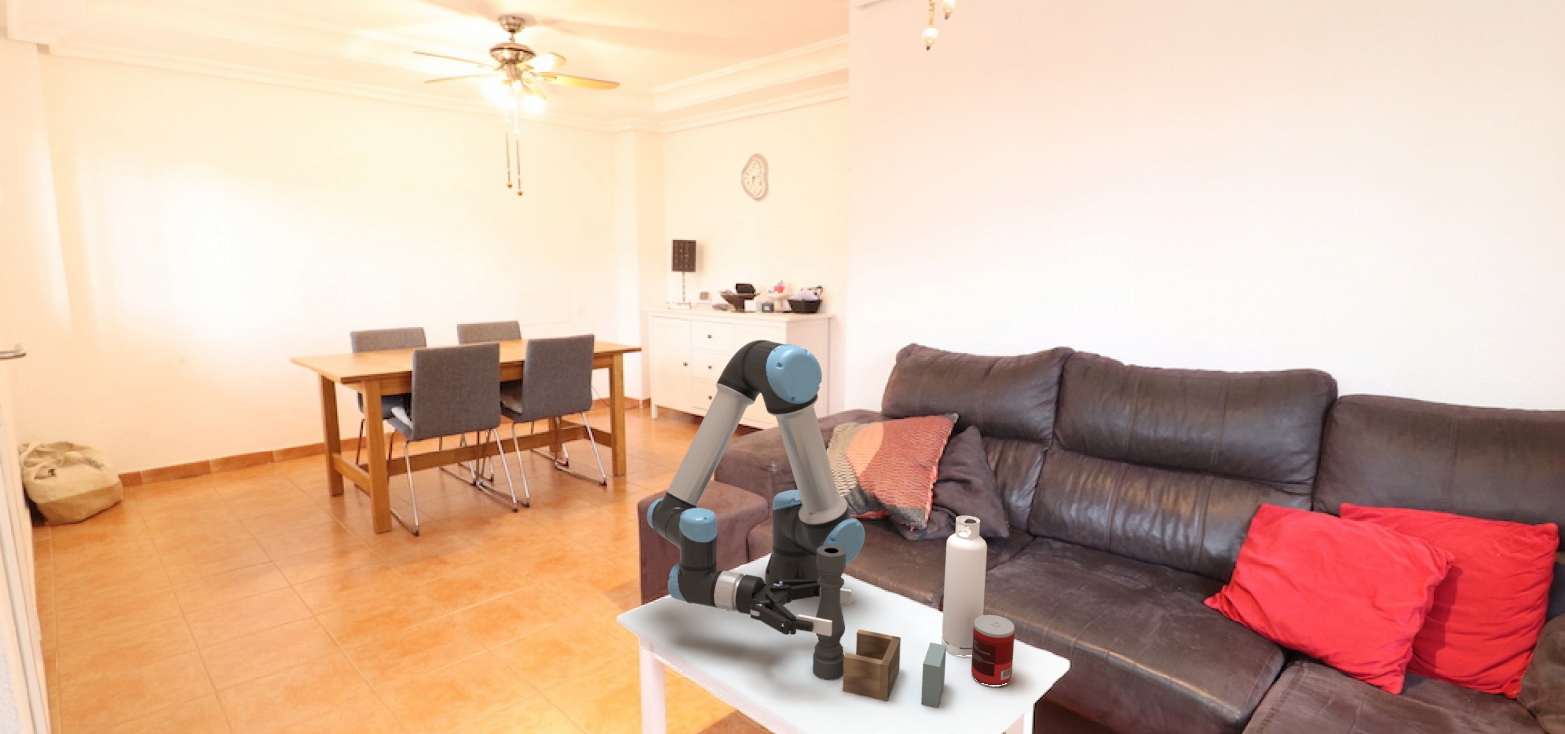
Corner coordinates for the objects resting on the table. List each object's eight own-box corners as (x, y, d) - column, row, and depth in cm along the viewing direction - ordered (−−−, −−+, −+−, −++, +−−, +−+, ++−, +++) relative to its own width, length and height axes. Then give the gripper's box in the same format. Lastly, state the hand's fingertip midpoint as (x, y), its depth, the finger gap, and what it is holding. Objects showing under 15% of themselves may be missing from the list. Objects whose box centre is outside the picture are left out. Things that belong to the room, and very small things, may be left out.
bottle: (935, 648, 154) (941, 520, 150) (951, 633, 160) (957, 510, 156) (971, 661, 149) (979, 529, 145) (986, 645, 156) (994, 518, 151)
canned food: (1010, 668, 147) (1014, 617, 145) (1012, 691, 139) (1015, 637, 137) (971, 662, 149) (974, 611, 147) (970, 684, 141) (973, 631, 140)
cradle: (842, 691, 138) (843, 656, 137) (857, 661, 149) (858, 629, 148) (887, 701, 135) (888, 665, 134) (899, 670, 146) (900, 637, 145)
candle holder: (842, 681, 141) (845, 558, 138) (810, 677, 143) (812, 555, 139) (845, 664, 147) (849, 545, 144) (815, 660, 149) (818, 543, 145)
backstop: (921, 704, 135) (923, 663, 134) (928, 680, 142) (930, 642, 141) (937, 707, 134) (939, 666, 132) (944, 684, 141) (946, 645, 140)
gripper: (764, 585, 162) (858, 602, 154) (714, 639, 138) (821, 662, 131) (764, 552, 160) (859, 568, 153) (714, 601, 137) (822, 623, 130)
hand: (841, 612), depth 142 cm, fingers open, 13 cm apart
